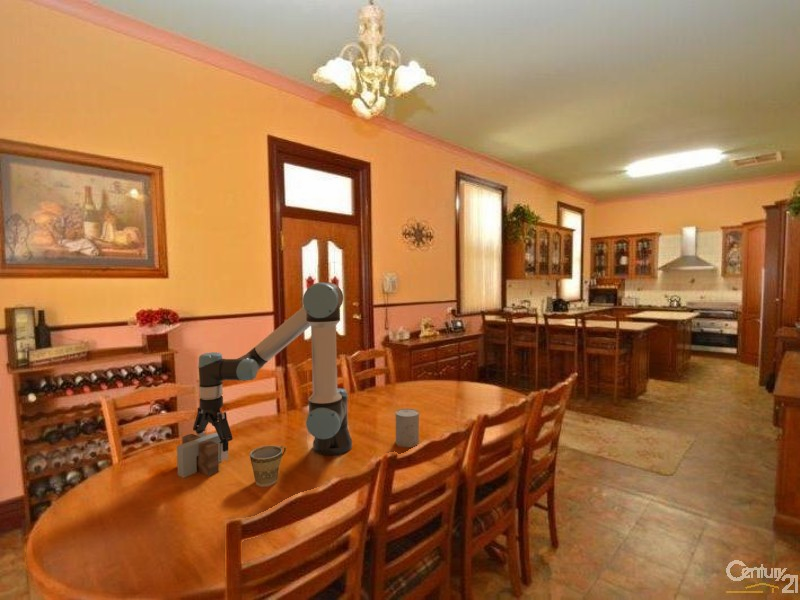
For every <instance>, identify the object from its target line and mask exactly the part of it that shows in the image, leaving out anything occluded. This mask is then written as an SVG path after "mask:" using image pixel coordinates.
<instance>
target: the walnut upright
mask: <svg viewBox="0 0 800 600" xmlns="http://www.w3.org/2000/svg"><path fill="white" fill-rule="evenodd" d="M198 438H201V437H199V436H197V434H195V433H190V434H186V435H184V436H182V437H181V442H182V443H181V444H184V443H187V442H190V441H193V440H196V439H198ZM196 459H197V473H198V472H199V473H201V474H203V475H205V476H207V477H210V476H213V475H215V473H216V474H218V473H219V471H220V470H219V469H220V468H219V466H220V465H219V463H218V443H215V442H213V441H210V440H207V441H204V442H201V443H199V456H196Z"/></svg>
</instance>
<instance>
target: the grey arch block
mask: <svg viewBox="0 0 800 600" xmlns="http://www.w3.org/2000/svg"><path fill="white" fill-rule="evenodd" d="M207 440H210V441H213V442H215V443H218V464H220V463H222V462H223V461H220V442H221V440H220V438H219V436H218V433H217V432H213V433H210V434H206V436H204V437H201V438H198V439H196V440H193V441H190V442H187V443H184V444H182V443H181V444H178V445H176V457H177V476H179V477H181V478H183V479H184V478H187V477H189V476H192V475H193V474H196V473H198V471H197V459H196V456H199V443H201V442H204V441H207Z"/></svg>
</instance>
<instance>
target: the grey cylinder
mask: <svg viewBox="0 0 800 600" xmlns="http://www.w3.org/2000/svg"><path fill="white" fill-rule="evenodd" d="M419 428H420V412H419V410H417V409H414V408H401V409H397V410H396V411H395V444H396V446H398V447H401V448H413V447H416V445H417V444H418V445H419V444H420V441H419V440H420V429H419ZM418 445H417V446H418Z"/></svg>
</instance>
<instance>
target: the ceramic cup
mask: <svg viewBox="0 0 800 600" xmlns="http://www.w3.org/2000/svg"><path fill="white" fill-rule="evenodd" d="M286 449H287V447H285V446H284V445H282V446H279V445H278V446H277V445H263V446H260V447H256V448H254V449H253V450H251V451H250V452H249V457H250V458H249V459H250V463H251V468H252V471H253V476H254V481H255V485H256V486H258V487H260V488H263V487H270V486H272V485H275V484H276V483H277V481H278V477H279V476H278V475H279V469H280V465H281V461H282V458H283V456H284V455H285V453H286Z"/></svg>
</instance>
